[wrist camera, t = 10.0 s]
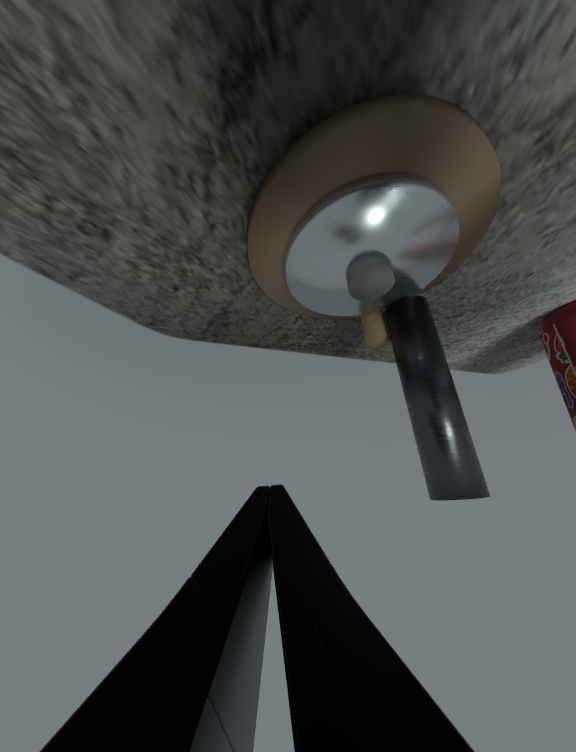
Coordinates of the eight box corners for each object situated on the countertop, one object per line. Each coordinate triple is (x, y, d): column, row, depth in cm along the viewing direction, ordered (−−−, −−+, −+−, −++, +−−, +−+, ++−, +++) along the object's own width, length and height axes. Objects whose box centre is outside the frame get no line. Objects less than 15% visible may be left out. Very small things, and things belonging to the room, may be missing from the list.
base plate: (574, 99, 11) (631, 165, 9) (415, 305, 23) (428, 349, 21) (233, 88, 10) (233, 161, 8) (253, 311, 22) (255, 357, 20)
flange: (250, 258, 15) (260, 523, 11) (416, 115, 10) (595, 527, 5) (355, 329, 23) (389, 499, 19) (479, 272, 18) (572, 491, 13)
